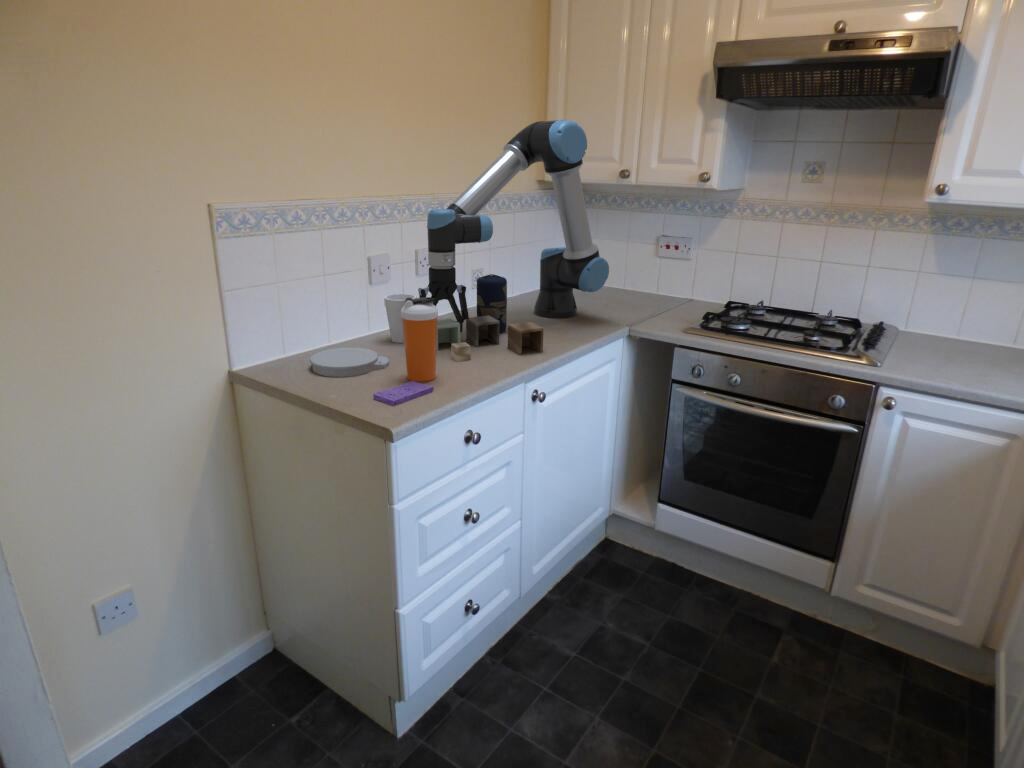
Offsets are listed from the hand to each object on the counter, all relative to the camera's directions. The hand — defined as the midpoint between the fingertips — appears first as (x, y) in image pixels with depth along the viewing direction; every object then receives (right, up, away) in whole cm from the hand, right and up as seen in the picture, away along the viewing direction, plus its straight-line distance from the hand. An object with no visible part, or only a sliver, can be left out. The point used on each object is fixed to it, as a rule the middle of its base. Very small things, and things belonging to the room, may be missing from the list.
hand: (443, 344), depth 188 cm
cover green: (0, 0, 0) cm, 0 cm away
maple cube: (+6, -4, -11) cm, 13 cm away
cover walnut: (+24, -2, -2) cm, 24 cm away
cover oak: (+11, +1, +4) cm, 12 cm away
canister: (+13, +5, +17) cm, 22 cm away
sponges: (-5, -15, -38) cm, 41 cm away
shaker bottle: (-3, -10, -26) cm, 28 cm away
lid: (-22, -7, -19) cm, 30 cm away
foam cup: (-13, +2, +6) cm, 14 cm away
